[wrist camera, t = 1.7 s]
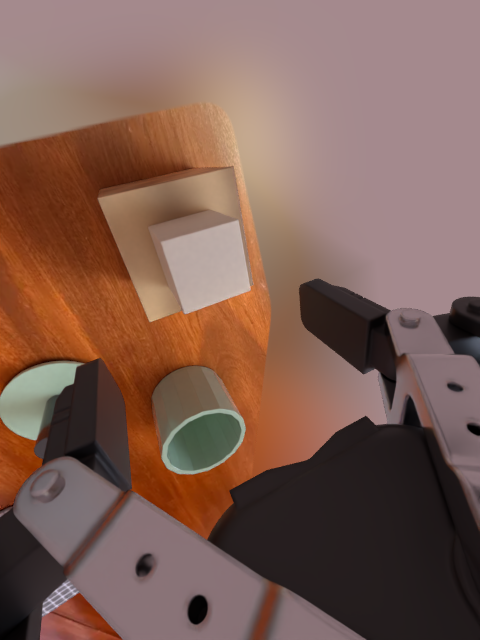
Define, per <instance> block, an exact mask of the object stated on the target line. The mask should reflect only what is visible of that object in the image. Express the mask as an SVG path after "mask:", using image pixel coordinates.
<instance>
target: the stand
mask: <svg viewBox="0 0 480 640" xmlns="http://www.w3.org/2000/svg"><path fill="white" fill-rule="evenodd" d="M97 199H98V202H99V204H100V206H101V209H102V211H103V213H104V216H105V218H106V221H107V223H108V225H109V228H110V230H111V232H112V235H113V237H114V239H115V242H116V244H117V247H118V249H119V251H120V254H121V256H122V258H123V261H124V263H125V266H126V268H127V270H128V273H129V275H130V277H131V280H132V282H133V284H134V287H135V289H136V292H137V294H138V296H139V299H140V301H141V303H142V306H143V308H144V311H145V313H146V315H147V318H148V320H149V322H152V321H155V320H158V319H160V318H163V317H166V316H169V315H171V314H174V313H177V312H180V311H182V310H181V308H180V306H179V304H178V302H177V301H176V299H175V297H174V295H173V293H172V292H171V290H170V288H169V286H168V283H167V280H166V278H165V275H164V272H163V269H162V266H161V263H160V260H159V257H158V255H157V252H156V249H155V246H154V243H153V240H152V237H151V234H150V232H149V229H148V227H149V226H151V225H155V224H159V223H162V222H166V221H170V220H173V219H177V218H181V217H184V216H188V215H192V214H196V213H199V212H203V211H207V210H213V211H216V212H219V213H221V214H224V215H227V216H230V217H233V218H235V219H238V220H239V226H240V232H241V238H242V243H243V249H244V255H245V261H246V266H247V272H248V278H249V284H250V286H252V285H253V280H252V274H251V267H250V261H249V255H248V249H247V243H246V237H245V231H244V225H243V219H242V213H241V207H240V201H239V195H238V189H237V183H236V177H235V171H234V167H233V166H232V167H207V168H192V169H188V170H184V171H179V172H175V173H170V174H166V175H161V176H157V177H153V178H148V179H144V180H139V181H135V182H130V183H126V184H122V185H117V186H113V187H108V188H104V189H100V191H99V194H98V198H97Z"/></svg>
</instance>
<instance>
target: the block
mask: <svg viewBox="0 0 480 640" xmlns="http://www.w3.org/2000/svg"><path fill="white" fill-rule="evenodd" d="M148 229H149V232H150V234H151V237H152V240H153V243H154V246H155V249H156V252H157V255H158V257H159V260H160V263H161V266H162V269H163V272H164V275H165V278H166V280H167V283H168V286H169V288H170V290H171V292H172V293H173V295H174V297H175V299H176V301H177V302H178V304H179V306H180V308H181V310H182V311H183V313H184V314H187V313H190V312H193V311H196V310H198V309H201V308H204V307H207V306H209V305H212V304H215V303H218V302H220V301H223V300H226V299H229V298H231V297H234V296H237V295H240V294H242V293H245V292H248V291H250V290H251V289H250V284H249V278H248V272H247V266H246V261H245V255H244V249H243V243H242V238H241V232H240V226H239V220H238V219H235V218H233V217H230V216H227V215H224V214H221V213H219V212H216V211H213V210H207V211H203V212H199V213H196V214H192V215H188V216H184V217H181V218H177V219H173V220H170V221H166V222H162V223H159V224H155V225H151V226H149V227H148Z"/></svg>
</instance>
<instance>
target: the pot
mask: <svg viewBox="0 0 480 640" xmlns="http://www.w3.org/2000/svg"><path fill="white" fill-rule="evenodd" d="M151 404H152V413H153V418H154V423H155V428H156V433H157V438H158V444H159V449H160V454H161V459H162V460H163V462H164V464H165V466H166V467H167V469H169V470H171V471H173V472H175V473H177V474H196V473H200V472H204V471H208V470H210V469H212V468H214V467H216V466H217V465H219V464H221V463H223V462H224V461H225V460H227V459H228V458H229V457H230V456H231V455H232V454H234V452H235V451H236V450H237V448H238V447H239V446H240V444H241V443H242V441H243V438H244V434H245V430H246V428H245V424H244V420H243V417H242V416H241V414H240V412H239V410H238V409H237V407H236V405H235V403H234V401H233V400H232V398H231V396H230V394H229V393H228V391H227V389H226V387H225V385H224V384H223V382H222V380H221V378H220V377H219V376H218V375H217V374H216V373H215V372H214V371H213V370H211V369H209V368H207V367H203V366H188V367H184V368H180V369H178V370H176V371H173V372H172V373H170V374H169V375H167V376H166V377H165V378H163V379H162V380H161V381H160V383H159V384H158V385H157V387H156V388H155V390H154V392H153V395H152V400H151Z"/></svg>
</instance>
